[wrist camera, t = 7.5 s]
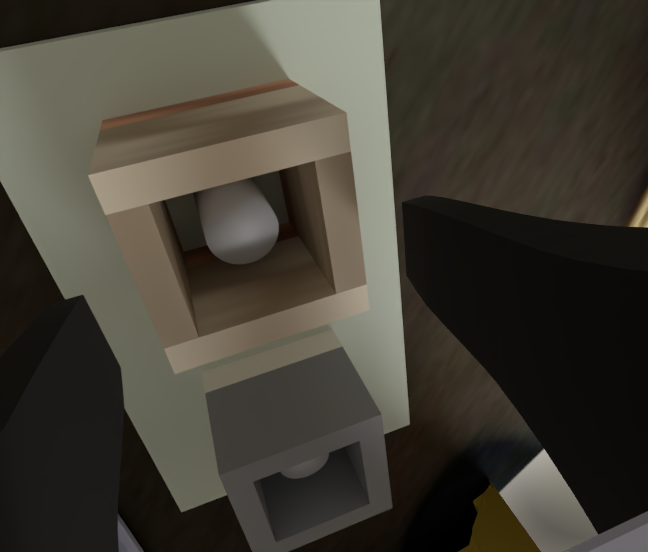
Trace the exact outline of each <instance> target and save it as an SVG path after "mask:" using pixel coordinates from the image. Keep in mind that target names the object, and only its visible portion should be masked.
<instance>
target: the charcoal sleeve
mask: <svg viewBox="0 0 648 552" xmlns="http://www.w3.org/2000/svg"><path fill="white" fill-rule="evenodd" d="M202 378H203V384H204V390H205V396H206V402H207V408H208V414H209V420H210V426H211V432H212V438H213V444H214V450H215V456H216V462H217V468H218V474H219V477H220V479H221V482H222V484H223V486H224V489H225V491H226V493H227V495H228V498H229V500H230V502H231V505H232V507H233V509H234V511H235V514H236V516H237V518H238V520H239V523H240V525H241V527H242V530H243V532H244V534H245V536H246V539H247V541H248V543H249V546H250V548H251V550H252V552H289V551H291V550H293V549H296V548H298V547H301V546H303V545H305V544H308V543H310V542H313V541H315V540H317V539H320V538H322V537H325V536H327V535H329V534H332V533H334V532H336V531H339V530H341V529H344V528H346V527H348V526H351V525H353V524H356V523H358V522H360V521H363V520H365V519H367V518H370V517H372V516H375V515H377V514H379V513H382V512H384V511H387V510H389V509H391V508H393V507H392V498H391V490H390V481H389V473H388V464H387V456H386V447H385V439H384V430H383V422H382V414H381V412H380V411H379V409H378V407H377V405H376V404H375V402H374V400H373V399H372V397H371V395H370V393H369V392H368V390H367V388H366V386H365V385H364V383H363V381H362V379H361V378H360V376H359V374H358V372H357V371H356V369H355V367H354V365H353V364H352V362H351V360H350V359H349V357H348V355H347V353H346V352H345V350H344V348H343V346H342V345H341V343H340V341H339V339H338V338H337V336H336V334H335V332H334V331H333V329H332V330H329V331H326V332H323V333H320V334H317V335H314V336H311V337H308V338H305V339H302V340H299V341H296V342H293V343H290V344H287V345H284V346H281V347H278V348H274V349H271V350H268V351H265V352H262V353H259V354H256V355H253V356H250V357H247V358H244V359H241V360H238V361H235V362H232V363H229V364H226V365H223V366H220V367H217V368H214V369H211V370H208V371H205V372H202ZM327 453H329V457H328V460H327V462H326V463H325V465H324V466H323V467H322V468H321V469H320V470H318V471H317V472H315V473H314V474H312V475H310V476H307V477H304V478H298V479H292V478H288V477H285V476H284V475H282V474H281V472H280V471H283V470H285V469H288V468H290V467H293V466H296V465H298V464H301V463H303V462H306V461H309V460H311V459H314V458H316V457H319V456H322V455H324V454H327Z"/></svg>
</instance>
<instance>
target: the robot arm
mask: <svg viewBox="0 0 648 552" xmlns="http://www.w3.org/2000/svg"><path fill="white" fill-rule="evenodd" d="M402 210H403V226H404V242H405V258H406V274H407V277H408V278H409V280H410V281H411V283H412V284H413V286H414V288H415V289H416V291H417V292H418V294H419V295H420V296H421V298H422V299H423V301H424V302H425V304H426V305H427V306H428V307H429V308H430V310H431V311H432V312H433V313H434V314H435V315H436V316H437V317H438V318H439V320H440V321H441V322H442V323H443V324H444V325H445V326H446V327H447V328H448V329H449V330H450V331H451V333H452V334H453V335H454V336H455V337H456V338H457V339H458V340H459V341H460V342H461V343H462V344H463V345H464V346H465V348H466V349H467V350H468V351H469V352H470V353H471V354H472V355H473V356H474V357H475V358H476V359H477V360H478V361H479V363H480V364H481V365H482V366H483V367H484V368H485V369H486V370H487V372H488V373H489V374H490V375H491V376H492V377H493V379H494V380H495V381H496V382H497V384H498V385H499V386H500V388H501V389H502V390H503V392H504V393H505V394H506V396H507V397H508V398H509V400H510V401H511V402H512V404H513V405H514V406H515V408H516V409H517V411H518V412H519V413H520V415H521V416H522V417H523V419H524V420H525V422H526V423H527V425H528V426H529V427H530V429H531V430H532V432H533V433H534V435H535V436H536V438H537V439H538V440H539V442H540V443H541V445H542V446H543V448H544V449H545V450H546V452H547V453H548V455H549V457H550V458H551V460H552V461H553V463H554V464H555V466H556V467H557V469H558V470H559V472H560V474H561V475H562V477H563V478H564V480H565V481H566V483H567V484H568V486H569V487H570V489H571V490H572V492H573V493H574V495H575V497H576V498H577V500H578V501H579V503H580V505H581V506H582V508H583V510H584V511H585V513H586V515H587V516H588V518H589V520H590V521H591V523H592V525H593V526H594V528H595V530H596V531H597V533H598V535H597V536H595V537H593V538H591V539H589V540H587V541H584V542H582V543H580V544H578V545H576V546H574V547H572V548H570V549H568V550H566V551H563V552H648V228H644V227H620V226H605V225H595V224H585V223H575V222H567V221H560V220H553V219H547V218H541V217H535V216H529V215H524V214H519V213H514V212H509V211H504V210H499V209H494V208H490V207H485V206H481V205H476V204H472V203H467V202H463V201H458V200H453V199H448V198H443V197H436V196H422V197H419V198H415V199H412V200H408V201H405V202H402ZM123 425H124V395H123V384H122V374H121V367H120V365H119V363H118V361H117V359H116V357H115V355H114V353H113V351H112V349H111V347H110V345H109V343H108V342H107V340H106V338H105V336H104V334H103V332H102V330H101V328H100V326H99V324H98V322H97V320H96V318H95V316H94V314H93V312H92V310H91V309H90V307H89V305H88V303H87V301H86V299H85V297H84V295H80V296H76V297H73V298H69V299H66V300H62V301H59V302H55V303H52V304H51V305H50V306H49V307H47V308H46V309H45V310H44V311H43V312H42V313H41V314H40V315H39V316H38V317H37V318H36V319H35V320H34V322H33V323H32V324H31V325H30V326H29V327H28V328H27V329H26V330H25V331H24V332H23V333H22V335H21V336H20V337H19V338H18V339H17V340H16V341H15V342H14V343H13V344H12V345H11V347H10V348H9V349H8V350H7V351H6V352H5V353H4V354H3V355H2V356H1V357H0V552H144V551H143V550H142V548H141V547H140V545H139V544H138V542H137V541H136V539H135V538H134V536H133V535H132V533H131V532H130V530H129V529H128V527H127V526H126V524H125V523H124V521H123V520H122V519H121V517H120V516H119V514H118V499H119V485H120V470H121V456H122V441H123Z"/></svg>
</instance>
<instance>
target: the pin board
mask: <svg viewBox="0 0 648 552" xmlns="http://www.w3.org/2000/svg"><path fill="white" fill-rule="evenodd" d="M286 79H290V80H292V81H294V82H295V83H297V84H299V85H300V86H302V87H304V88H306V89H307V90H309V91H311V92H312V93H314V94H316V95H318V96H319V97H321V98H323V99H324V100H326V101H328V102H329V103H331V104H333V105H335V106H336V107H338V108H340V109H341V110H343V111H345V112H347V121H348V129H349V138H350V146H351V155H352V163H353V172H354V180H355V189H356V197H357V206H358V214H359V223H360V231H361V240H362V248H363V257H364V265H365V274H366V282H367V291H368V299H369V308H370V310H368V311H365V312H362V313H359V314H356V315H353V316H350V317H347V318H344V319H341V320H338V321H335V322H332V323H329V324H326V325H323V326H320V327H317V328H314V329H310V330H307V331H304V332H301V333H298V334H295V335H292V336H289V337H286V338H283V339H280V340H277V341H274V342H271V343H268V344H265V345H262V346H259V347H256V348H253V349H250V350H247V351H244V352H241V353H238V354H235V355H232V356H229V357H226V358H223V359H220V360H216V361H213V362H210V363H207V364H204V365H201V366H198V367H195V368H192V369H189V370H186V371H183V372H180V373H177V374H175V373H174V371H173V369H172V366H171V364H170V362H169V359H168V357H167V355H166V353H165V350H164V348H163V346H162V343H161V341H160V339H159V337H158V334H157V332H156V330H155V327H154V325H153V323H152V321H151V318H150V316H149V314H148V311H147V309H146V307H145V305H144V302H143V300H142V298H141V295H140V293H139V291H138V289H137V286H136V284H135V282H134V279H133V277H132V275H131V273H130V270H129V268H128V266H127V264H126V261H125V259H124V257H123V254H122V252H121V250H120V248H119V245H118V243H117V241H116V238H115V236H114V234H113V232H112V229H111V227H110V225H109V222H108V220H107V218H106V216H105V213H104V211H103V209H102V206H101V204H100V202H99V200H98V197H97V195H96V193H95V190H94V188H93V186H92V184H91V181H90V179H89V177H88V173H89V169H90V165H91V162H92V158H93V154H94V150H95V147H96V143H97V139H98V135H99V132H100V128H101V124H102V121H103V120H106V119H111V118H115V117H120V116H124V115H129V114H133V113H138V112H142V111H147V110H151V109H156V108H160V107H165V106H169V105H174V104H178V103H183V102H187V101H192V100H196V99H201V98H205V97H210V96H214V95H219V94H223V93H228V92H232V91H237V90H241V89H246V88H250V87H255V86H259V85H264V84H268V83H273V82H277V81H282V80H286ZM0 181H1V183H2V185H3V187H4V189H5V190H6V192H7V194H8V196H9V198H10V200H11V201H12V203H13V205H14V207H15V209H16V211H17V212H18V214H19V216H20V218H21V220H22V222H23V223H24V225H25V227H26V229H27V231H28V233H29V234H30V236H31V238H32V240H33V242H34V243H35V245H36V247H37V249H38V251H39V253H40V254H41V256H42V258H43V260H44V262H45V264H46V265H47V267H48V269H49V271H50V273H51V275H52V276H53V278H54V280H55V282H56V284H57V286H58V287H59V289H60V291H61V293H62V295H63V297H64V298H65V300H66V299H69V298H73V297H76V296H80V295H84V297H85V299H86V301H87V303H88V305H89V307H90V309H91V310H92V312H93V314H94V316H95V318H96V320H97V322H98V324H99V326H100V328H101V330H102V332H103V334H104V336H105V338H106V340H107V342H108V343H109V345H110V347H111V349H112V351H113V353H114V355H115V357H116V359H117V361H118V363H119V365H120V367H121V374H122V384H123V395H124V408H125V410H126V412H127V414H128V415H129V417H130V419H131V421H132V423H133V425H134V426H135V428H136V430H137V432H138V434H139V436H140V437H141V439H142V441H143V443H144V445H145V447H146V448H147V450H148V452H149V454H150V456H151V458H152V459H153V461H154V463H155V465H156V467H157V468H158V470H159V472H160V474H161V476H162V478H163V479H164V481H165V483H166V485H167V487H168V489H169V490H170V492H171V494H172V496H173V498H174V500H175V501H176V503H177V505H178V507H179V509H180V511H181V512H184V511H187V510H189V509H192V508H194V507H197V506H200V505H202V504H205V503H207V502H210V501H213V500H215V499H218V498H220V497H223V496H226V495H227V493H226V491H225V489H224V486H223V484H222V482H221V479H220V477H219V474H218V468H217V462H216V456H215V450H214V444H213V438H212V432H211V426H210V420H209V414H208V408H207V402H206V396H205V390H204V384H203V378H202V372H205V371H208V370H211V369H214V368H217V367H220V366H223V365H226V364H229V363H232V362H235V361H238V360H241V359H244V358H247V357H250V356H253V355H256V354H259V353H262V352H265V351H268V350H271V349H274V348H278V347H281V346H284V345H287V344H290V343H293V342H296V341H299V340H302V339H305V338H308V337H311V336H314V335H317V334H320V333H323V332H326V331H329V330H332V329H333V331H334V332H335V334H336V336H337V338H338V339H339V341H340V343H341V345H342V346H343V348H344V350H345V352H346V353H347V355H348V357H349V359H350V360H351V362H352V364H353V365H354V367H355V369H356V371H357V372H358V374H359V376H360V378H361V379H362V381H363V383H364V385H365V386H366V388H367V390H368V392H369V393H370V395H371V397H372V399H373V400H374V402H375V404H376V405H377V407H378V409H379V411H380V412H381V414H382V422H383V430H384V434H386V433H389V432H392V431H394V430H397V429H399V428H402V427H405V426H407V425H410V419H409V405H408V391H407V377H406V363H405V349H404V335H403V321H402V307H401V293H400V279H399V265H398V251H397V237H396V223H395V209H394V195H393V181H392V167H391V153H390V139H389V125H388V111H387V97H386V83H385V69H384V55H383V41H382V27H381V13H380V0H256V1H251V2H245V3H240V4H235V5H229V6H224V7H219V8H213V9H208V10H203V11H197V12H192V13H187V14H181V15H176V16H171V17H165V18H160V19H155V20H149V21H144V22H139V23H133V24H128V25H123V26H117V27H112V28H107V29H101V30H96V31H90V32H85V33H80V34H74V35H69V36H64V37H58V38H53V39H48V40H42V41H37V42H32V43H26V44H21V45H16V46H10V47H5V48H0ZM165 201H166V203H167V206H168V209H169V212H170V215H171V218H172V220H173V223H174V226H175V229H176V232H177V234H178V237H179V240H180V243H181V246H182V249H183V251H184V252H185V251H188V250H192V249H196V248H199V247H203V246H206V245H208V247H209V249H210V250H211V252H212V253H213V254H214V255H215V256H216V257H218V258H219V259H221V260H223V261H225V262H227V263H231V264H248V263H252V262H255V261H257V260H259V259H261V258H262V257H264V256H265V255H266V254H267V253H268V252H269V251H270V250H271V249H272V248H273V246H274V244H275V242H276V240H277V237H278V232H279V225H281V224H284V223H288V222H289V218H288V213H287V209H286V204H285V199H284V194H283V189H282V184H281V180H280V175H279V170H278V171H274V172H270V173H266V174H262V175H258V176H255V177H251V178H247V179H243V180H239V181H235V182H232V183H228V184H224V185H220V186H216V187H212V188H208V189H205V190H201V191H197V192H193V193H189V194H185V195H181V196H178V197H174V198H170V199H166V200H165ZM328 457H329V453H327V454H324V455H322V456H319V457H316V458H314V459H311V460H309V461H306V462H303V463H301V464H298V465H296V466H293V467H290V468H288V469H285V470H283V471H280V472H281V474H282V475H284V476H285V477H288V478H292V479H298V478H304V477H307V476H310V475H312V474H314V473H315V472H317V471H318V470H320V469H321V468H322V467H323V466H324V465H325V463H326V462H327V460H328Z"/></svg>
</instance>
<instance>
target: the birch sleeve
mask: <svg viewBox="0 0 648 552" xmlns="http://www.w3.org/2000/svg"><path fill="white" fill-rule="evenodd" d="M278 170H279V175H280V180H281V184H282V189H283V194H284V199H285V204H286V209H287V213H288V218H289V222H288V223H284V224H281V225H279V232H278V237H277V240H276V242H275V244H274V246H273V248H272V249H271V250H270V251H269V252H268V253H267V254H266V255H265V256H264V257H262V258H261V259H259V260H257V261H255V262H252V263H248V264H231V263H227V262H225V261H223V260H221V259H219V258H218V257H216V256H215V255H214V254H213V253H212V252H211V250H210V249H209V247H208V245H206V246H203V247H199V248H196V249H192V250H188V251H185V252H184V251H183V249H182V246H181V243H180V240H179V237H178V234H177V232H176V229H175V226H174V223H173V220H172V218H171V215H170V212H169V209H168V206H167V203H166V201H165V200H166V199H170V198H174V197H178V196H181V195H185V194H189V193H193V192H197V191H201V190H205V189H208V188H212V187H216V186H220V185H224V184H228V183H232V182H235V181H239V180H243V179H247V178H251V177H255V176H258V175H262V174H266V173H270V172H274V171H278ZM88 177H89V179H90V181H91V184H92V186H93V188H94V190H95V193H96V195H97V197H98V200H99V202H100V204H101V206H102V209H103V211H104V213H105V216H106V218H107V220H108V222H109V225H110V227H111V229H112V232H113V234H114V236H115V238H116V241H117V243H118V245H119V248H120V250H121V252H122V254H123V257H124V259H125V261H126V264H127V266H128V268H129V270H130V273H131V275H132V277H133V279H134V282H135V284H136V286H137V289H138V291H139V293H140V295H141V298H142V300H143V302H144V305H145V307H146V309H147V311H148V314H149V316H150V318H151V321H152V323H153V325H154V327H155V330H156V332H157V334H158V337H159V339H160V341H161V343H162V346H163V348H164V350H165V353H166V355H167V357H168V359H169V362H170V364H171V366H172V369H173V371H174V373H175V374H177V373H180V372H183V371H186V370H189V369H192V368H195V367H198V366H201V365H204V364H207V363H210V362H213V361H216V360H220V359H223V358H226V357H229V356H232V355H235V354H238V353H241V352H244V351H247V350H250V349H253V348H256V347H259V346H262V345H265V344H268V343H271V342H274V341H277V340H280V339H283V338H286V337H289V336H292V335H295V334H298V333H301V332H304V331H307V330H310V329H314V328H317V327H320V326H323V325H326V324H329V323H332V322H335V321H338V320H341V319H344V318H347V317H350V316H353V315H356V314H359V313H362V312H365V311H368V310H370V308H369V299H368V291H367V282H366V274H365V265H364V257H363V248H362V240H361V231H360V223H359V214H358V206H357V197H356V189H355V180H354V172H353V163H352V155H351V146H350V138H349V129H348V121H347V112H345V111H343V110H341V109H340V108H338V107H336V106H335V105H333V104H331V103H329V102H328V101H326V100H324V99H323V98H321V97H319V96H318V95H316V94H314V93H312V92H311V91H309V90H307V89H306V88H304V87H302V86H300V85H299V84H297V83H295V82H294V81H292V80H290V79H286V80H282V81H277V82H273V83H268V84H264V85H259V86H255V87H250V88H246V89H241V90H237V91H232V92H228V93H223V94H219V95H214V96H210V97H205V98H201V99H196V100H192V101H187V102H183V103H178V104H174V105H169V106H165V107H160V108H156V109H151V110H147V111H142V112H138V113H133V114H129V115H124V116H120V117H115V118H111V119H106V120H103V121H102V124H101V128H100V132H99V135H98V139H97V143H96V147H95V150H94V154H93V158H92V162H91V165H90V169H89V173H88Z"/></svg>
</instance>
